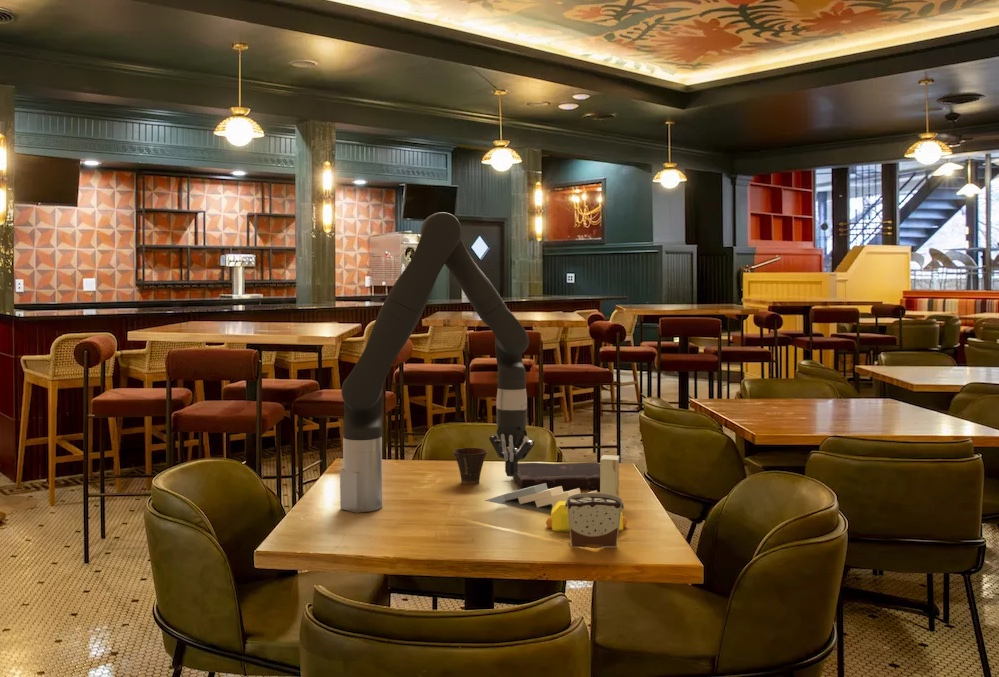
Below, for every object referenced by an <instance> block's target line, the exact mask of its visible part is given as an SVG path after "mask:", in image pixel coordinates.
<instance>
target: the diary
mask: <svg viewBox="0 0 999 677" xmlns="http://www.w3.org/2000/svg"><path fill="white" fill-rule="evenodd" d="M512 479H513V480H514V481H515V483H516V484H517V485H518V486H519V487H520V489H524V488H528V487H532V486H536V485H540V484H544V483H546V484H547V488H548V489H551V488H555V487H559V486H562V488H563V492H567V491H570V490H574V489H577V488H579V489H580V491H589V492H592V491H595V490H597V493H600V463H599V462H598V461H594V462H567V463H551V462H549V463H548V462H546V463H545V462H521V463H520V462H518V472H517V474H516V476H513V477H512Z"/></svg>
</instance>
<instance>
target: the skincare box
mask: <svg viewBox="0 0 999 677" xmlns="http://www.w3.org/2000/svg"><path fill="white" fill-rule="evenodd" d="M599 462H600V463H599V464H600V492H599V493H603V494H610V495H614V496H617V497H619V498H620V455H615V454H614V455H611V454H610V455H609V454H602V455H601V457H600V460H599Z"/></svg>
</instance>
